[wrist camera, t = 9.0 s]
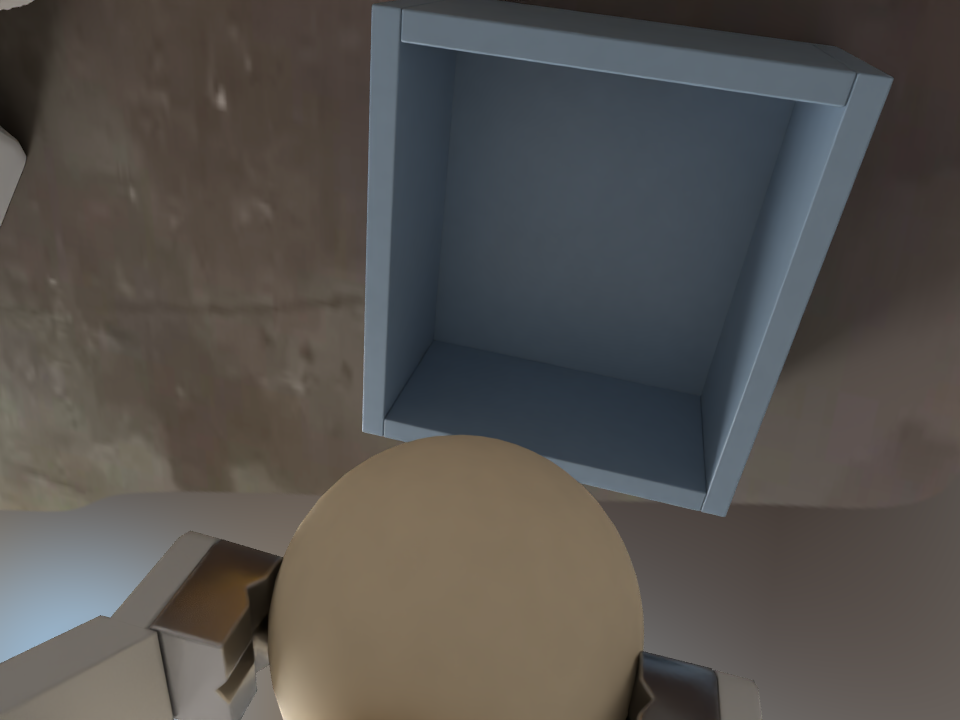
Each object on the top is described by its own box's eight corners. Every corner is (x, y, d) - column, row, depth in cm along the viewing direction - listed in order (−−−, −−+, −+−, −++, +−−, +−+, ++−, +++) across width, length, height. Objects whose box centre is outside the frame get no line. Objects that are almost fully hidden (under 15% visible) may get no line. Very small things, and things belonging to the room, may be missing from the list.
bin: (837, 46, 22) (895, 77, 16) (715, 408, 29) (725, 517, 23) (443, -8, 23) (371, 3, 18) (418, 345, 30) (361, 431, 25)
